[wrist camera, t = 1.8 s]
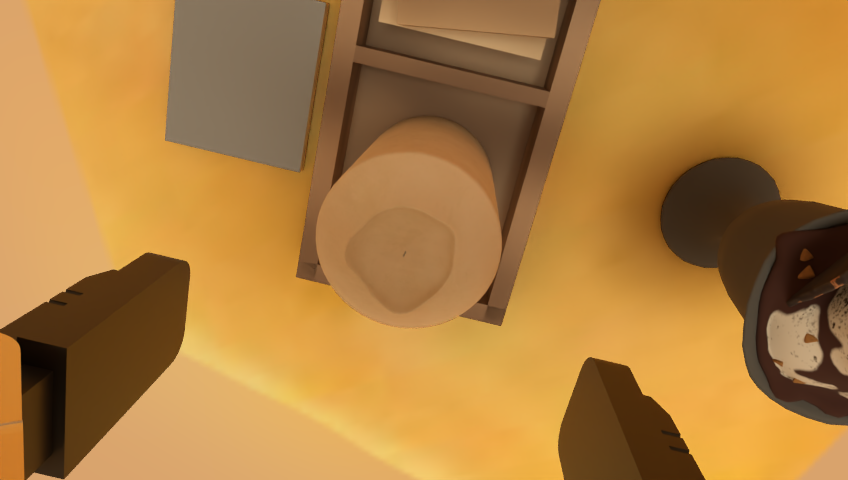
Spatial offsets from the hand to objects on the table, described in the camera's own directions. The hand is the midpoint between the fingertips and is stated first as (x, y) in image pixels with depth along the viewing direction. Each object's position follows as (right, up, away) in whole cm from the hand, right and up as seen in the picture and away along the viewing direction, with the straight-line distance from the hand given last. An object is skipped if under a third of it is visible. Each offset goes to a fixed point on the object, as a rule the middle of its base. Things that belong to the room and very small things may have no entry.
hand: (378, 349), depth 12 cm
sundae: (+14, +3, +14) cm, 20 cm away
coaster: (-7, +9, +13) cm, 17 cm away
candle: (+1, +5, +14) cm, 15 cm away
